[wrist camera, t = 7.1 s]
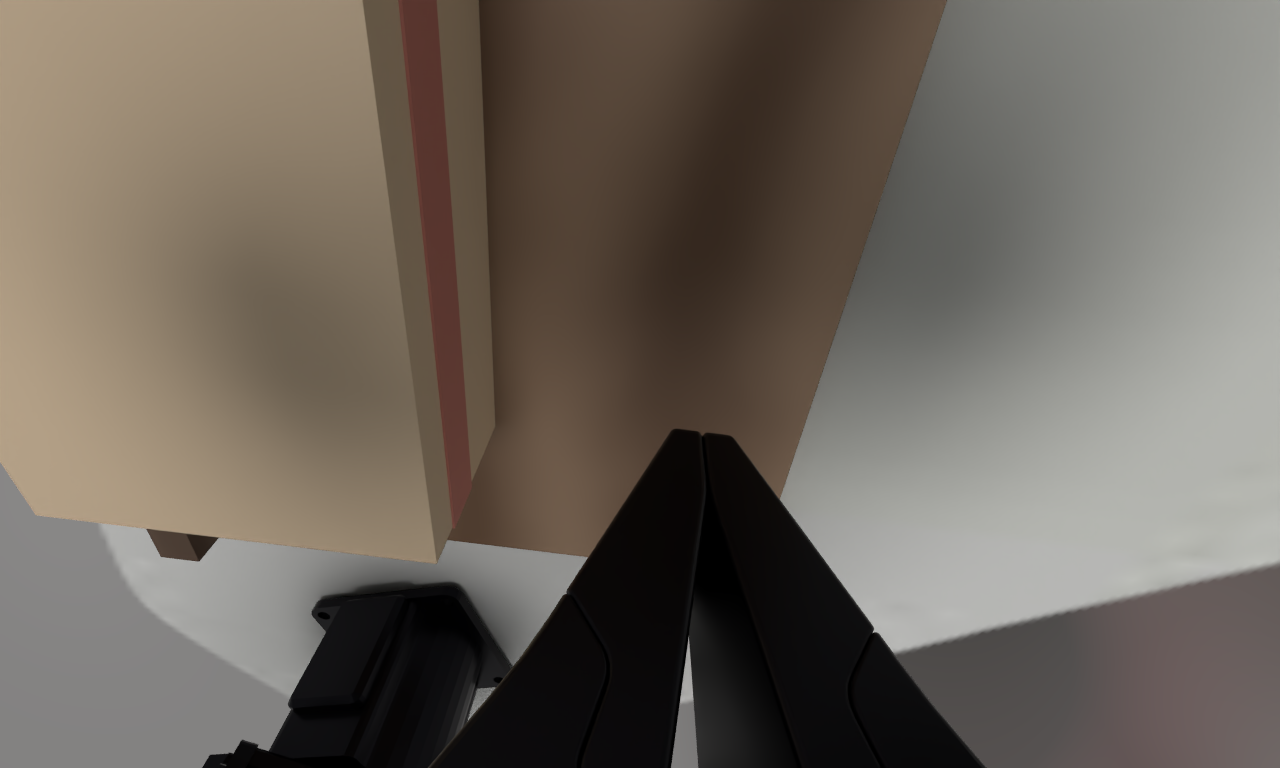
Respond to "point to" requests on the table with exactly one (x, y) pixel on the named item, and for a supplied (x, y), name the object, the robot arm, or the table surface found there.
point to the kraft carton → (246, 267)
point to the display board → (667, 235)
